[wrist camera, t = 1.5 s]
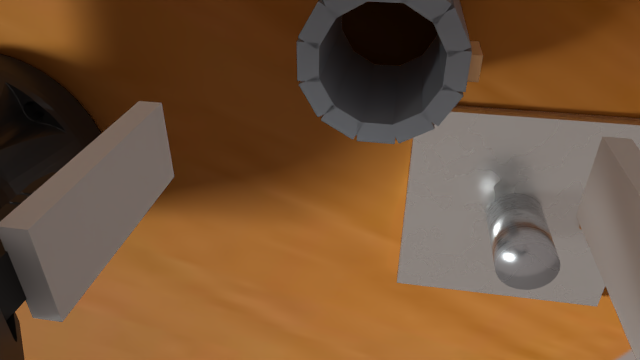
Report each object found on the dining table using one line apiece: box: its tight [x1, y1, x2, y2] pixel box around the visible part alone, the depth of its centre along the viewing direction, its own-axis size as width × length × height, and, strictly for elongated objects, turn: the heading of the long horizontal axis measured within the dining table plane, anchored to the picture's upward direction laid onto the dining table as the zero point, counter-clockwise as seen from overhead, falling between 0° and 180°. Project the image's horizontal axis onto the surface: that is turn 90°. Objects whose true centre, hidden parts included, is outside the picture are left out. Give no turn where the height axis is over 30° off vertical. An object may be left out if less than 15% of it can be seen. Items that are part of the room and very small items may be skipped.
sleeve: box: [297, 0, 483, 144], centre depth 26 cm, size 8×8×8 cm
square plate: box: [397, 105, 640, 306], centre depth 32 cm, size 14×14×6 cm
